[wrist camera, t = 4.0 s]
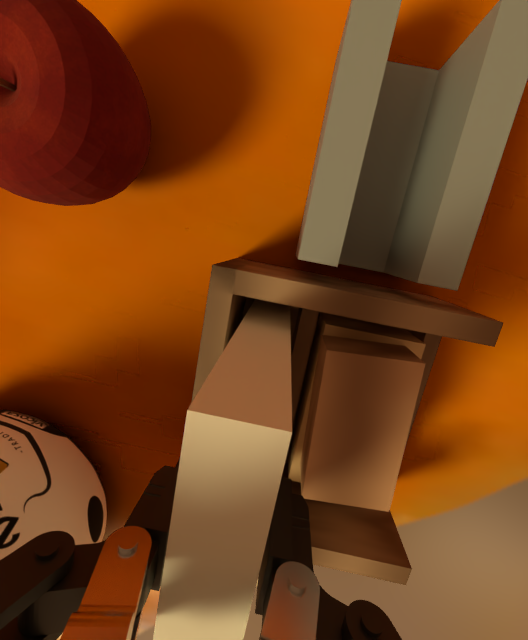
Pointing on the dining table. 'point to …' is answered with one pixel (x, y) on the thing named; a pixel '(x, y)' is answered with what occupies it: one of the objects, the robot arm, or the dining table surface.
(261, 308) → the cream rectangular board
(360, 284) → the box
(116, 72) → the apple
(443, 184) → the holder
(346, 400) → the offcut small
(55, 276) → the dining table surface
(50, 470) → the milk container
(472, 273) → the dining table surface
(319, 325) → the offcut large
